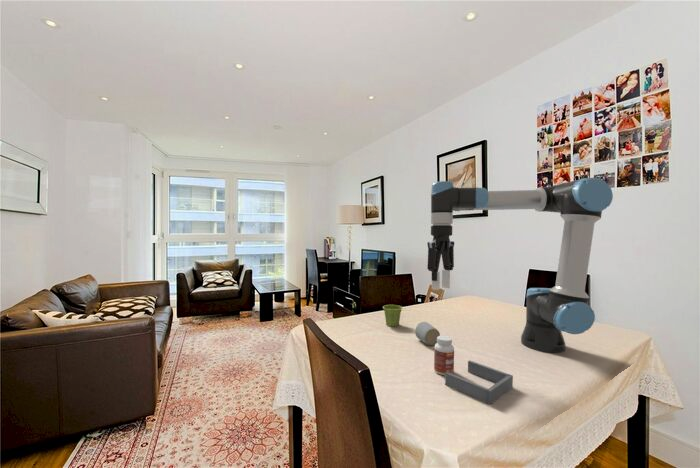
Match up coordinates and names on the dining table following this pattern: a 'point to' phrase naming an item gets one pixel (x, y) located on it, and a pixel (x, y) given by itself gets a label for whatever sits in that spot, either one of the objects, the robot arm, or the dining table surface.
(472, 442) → the dining table surface
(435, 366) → the pill bottle
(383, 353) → the dining table surface
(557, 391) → the dining table surface
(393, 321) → the plant pot
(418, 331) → the ceramic mug
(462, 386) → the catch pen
